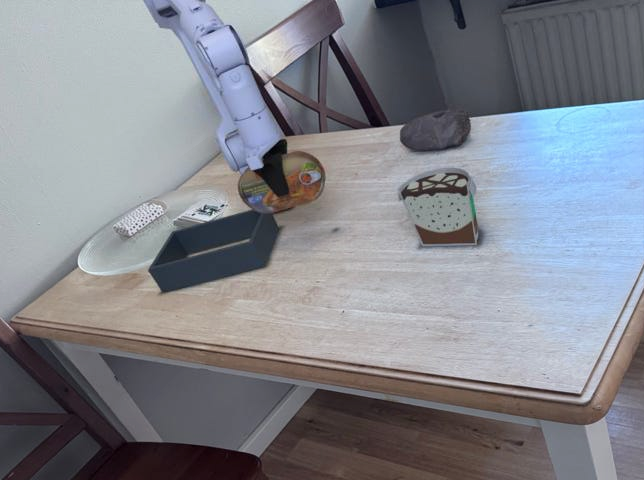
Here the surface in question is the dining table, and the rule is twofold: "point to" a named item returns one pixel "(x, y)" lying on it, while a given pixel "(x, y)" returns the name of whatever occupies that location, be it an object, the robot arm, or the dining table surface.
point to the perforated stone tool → (436, 130)
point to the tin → (301, 179)
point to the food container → (442, 207)
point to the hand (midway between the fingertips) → (285, 190)
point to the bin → (182, 272)
